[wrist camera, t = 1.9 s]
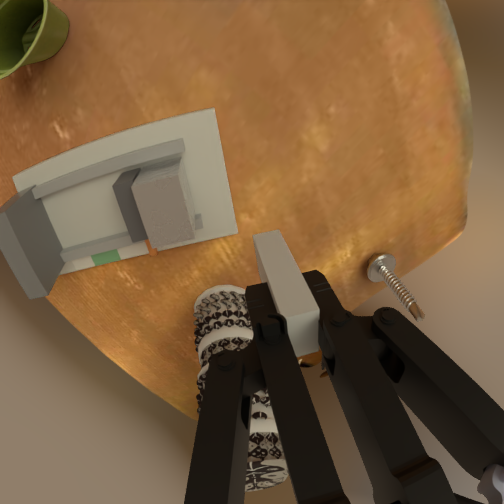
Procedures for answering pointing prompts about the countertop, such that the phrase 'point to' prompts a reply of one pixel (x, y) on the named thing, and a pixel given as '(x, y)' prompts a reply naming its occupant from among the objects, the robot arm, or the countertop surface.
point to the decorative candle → (262, 419)
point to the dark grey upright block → (131, 208)
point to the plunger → (165, 202)
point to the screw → (392, 282)
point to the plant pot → (29, 33)
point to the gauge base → (108, 199)
